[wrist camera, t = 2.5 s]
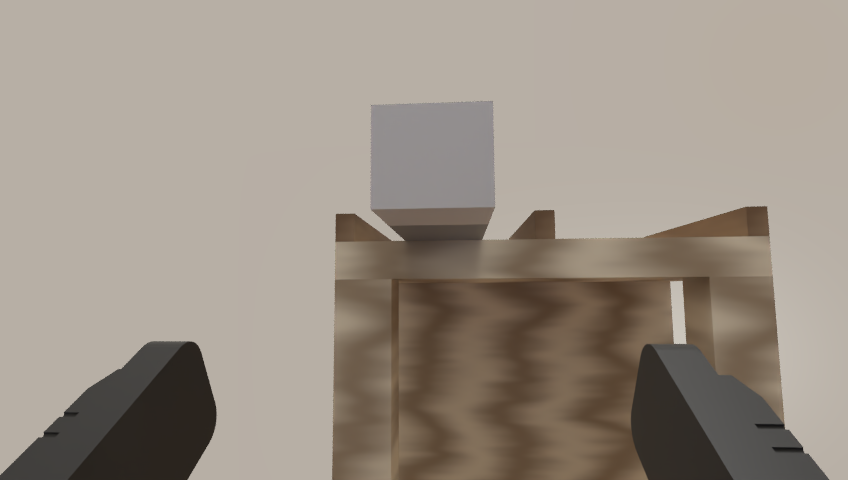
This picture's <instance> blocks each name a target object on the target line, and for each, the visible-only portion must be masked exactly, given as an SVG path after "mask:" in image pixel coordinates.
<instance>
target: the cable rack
mask: <svg viewBox="0 0 848 480" xmlns="http://www.w3.org/2000/svg"><path fill="white" fill-rule="evenodd" d="M767 213H768V212H767V207H765V206H764V207H744V208H740V209H737V210H734V211H730V212H727V213H724V214H720V215H717V216H714V217H710V218H707V219H704V220H700V221H697V222H694V223H690V224H687V225H683V226H680V227H677V228H674V229H670V230H667V231H663V232H660V233H656V234H654V235H650V236H646V237H644V238H598V239H597V238H595V239H594V238H591V239H555V217H554V210H543V211H539V210H538V211H534V212H533V213H532V214H531V215H530V216H529V217H528V219H527V220H526V221H525V222H524V223H523V224H522V225H521V226H520V227H519V229H518V230H517V231H516V232H515V233H514V234H513V235H512V236H511V237H510V238H509V240H441V241H391V240H390V239H388V238H387V237H386V236H384V235H383V234H381V233H380V232H379V231H377V230H376V229H375V228H373V227H372V226H370V225H369V224H368V223H366V222H365V221H364V220H362V219H361V218H359V217H358V216H357V215H355V214H336V249H335V321H334V322H335V324H334V394H333V397H334V398H333V466H332V467H333V468H332V480H648V478H647V476H646V473H645V471H644V468H643V466H642V464H641V461H640V459H639V456H638V454H637V451H636V449H635V445H634V442H633V437H632V430H631V410H632V404H633V398H634V392H635V386H636V380H637V374H638V368H639V362H640V356H641V352H642V349H643V347H644V346H645V345H646V344H674V342H673V324H672V306H671V289H670V281H683V294H684V309H685V327H686V342H687V344H693V345H695V346H697V347H698V348H699V349H700V351H701V352H702V353H703V355H704V356H705V357H706V359H707V360H708V361H709V363H710V364H711V366H712V367H713V368H714V370H715V371H716V372H717V374H718V375H732V376H733V377H735V378H736V379H737V380H739V381H740V382H742V383H743V384H745V385H746V386H747V387H749V388H750V389H752V390H753V391H754V392H756V393H757V394H759V395H760V396H761V397H763V399H764V400H765V401H766V402H767V403H768V405H769V406H770V407H771V408H772V410H773V411H774V412H775V413H776V415H777V416H778V417H779V418H780V420H781V421H782V422H783V423H784V412H783V399H782V388H781V376H780V362H779V351H778V339H777V338H778V337H777V325H776V313H775V300H774V287H773V275H772V264H771V263H772V262H771V251H770V237H769V225H768V214H767ZM784 428H785V424H784Z"/></svg>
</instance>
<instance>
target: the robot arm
mask: <svg viewBox="0 0 848 480" xmlns="http://www.w3.org/2000/svg"><path fill="white" fill-rule="evenodd" d="M215 425H216V405H215V401H214V397H213V394H212V390H211V386H210V383H209V379H208V376H207V372H206V368H205V365H204V361H203V358H202V354H201V351H200V349H199V347H198V345H197V344H196V343H194V342H164V341H162V342H161V341H159V342H157V341H154V342H149V343H147V344H146V345H144V346H143V347H142V348H141V349H140V350H139V351H138V352H137V353H136V355H134V356H133V358H132V359H131V360H130V361H129V362H128V363H127V364H126V365H125V366H124V367H123V368H122V369H119V370H116V371H115V372H113V373H112V374H110V375H109V376H107V377H105V378H104V379H102V380H101V381H99V382H98V383H96V384H94V385H93V386H91V387H90V388H88V389H87V390H86V391H85V392H84V393H83V394H82V395H81V396H80V397H79V398H78V399H77V400H76V401H75V402H74V403H73V404H72V405H71V406H70V407H69V408H68V409H67V410H66V411H65V412H64V416H63V417H59V418H58V419H57V420H56V421H55V422H54V423H53V424H52V425H51V426H50V427H49V428H48V429H47V430H46V431H45V432H44V436H43V437H42V438H38V439H37V440H36V441H35V442H34V443H32V444H31V445H30V446H29V447H28V448H27V449H26V450H25V452H23V453H22V454H21V455H20V456H19V458H17V459H16V461H14V463H12V464H11V465H10V466H9V467H8V468H7V469H6V470H5V471H4V472H3V473H2V474H1V475H0V480H187V479H188V478H189V476H190V474H191V473H192V471H193V469H194V468H195V466H196V464H197V463H198V461H199V459H200V457H201V456H202V454H203V452H204V451H205V449H206V447H207V446H208V444H209V442H210V440H211V438H212V436H213V433H214V429H215ZM631 430H632V437H633V442H634V445H635V449H636V451H637V454H638V456H639V459H640V461H641V464H642V466H643V468H644V471H645V473H646V476H647V478H648V480H829V479H828V478H827V476H826V475H825V474H824V473H823V471H822V470H821V469H820V468H819V466H818V465H817V464H816V463H815V461H814V460H813V459H812V458H811V457H810V455H809V454H805V453H804V451H803V447H802V445H801V444H800V443H799V442H798V441H797V439H796V438H795V437H794V436H793V434H792V433H791V432H790V431H789V430H785V428H784V423H783V422H782V421H781V420H780V418H779V417H778V416H777V415H776V413H775V412H774V411H773V410H772V408H771V407H770V406H769V405H768V403H767V402H766V401H765V400H764V399H763V397H761V396H760V395H759V394H757V393H756V392H754V391H753V390H752V389H750V388H749V387H747V386H746V385H745V384H743V383H742V382H740V381H739V380H737V379H736V378H735V377H733V376H732V375H718V374H717V372H716V371H715V370H714V368H713V367H712V366H711V364H710V363H709V361H708V360H707V359H706V357H705V356H704V355H703V353H702V352H701V351H700V349H699V348H698V347H697V346H695V345H693V344H646V345H645V346H644V347H643V349H642V352H641V356H640V362H639V368H638V374H637V380H636V386H635V392H634V398H633V404H632V410H631Z"/></svg>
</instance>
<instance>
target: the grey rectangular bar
mask: <svg viewBox="0 0 848 480" xmlns="http://www.w3.org/2000/svg"><path fill="white" fill-rule="evenodd" d="M493 135H494V134H493V101H476V102H448V103H418V104H389V105H371V210H372V211H373V212H374V213H375V214H376V215H377V216H379V217H380V218H381V219H382V220H383V221H384V222H385V223H386V224H387V225H388V226H390V227H391V228H392V229H393V230H394V231H395V232H396V233H397V234H399V235H400V236H401V237H402V238H403V239H404V240H405V241H441V240H482V239H483V236H484V233H485V231H486V229H487V226H488V224H489V221H490V219H491V216H492V213H493V211H494V208H495V183H494V182H495V181H494V136H493Z"/></svg>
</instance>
